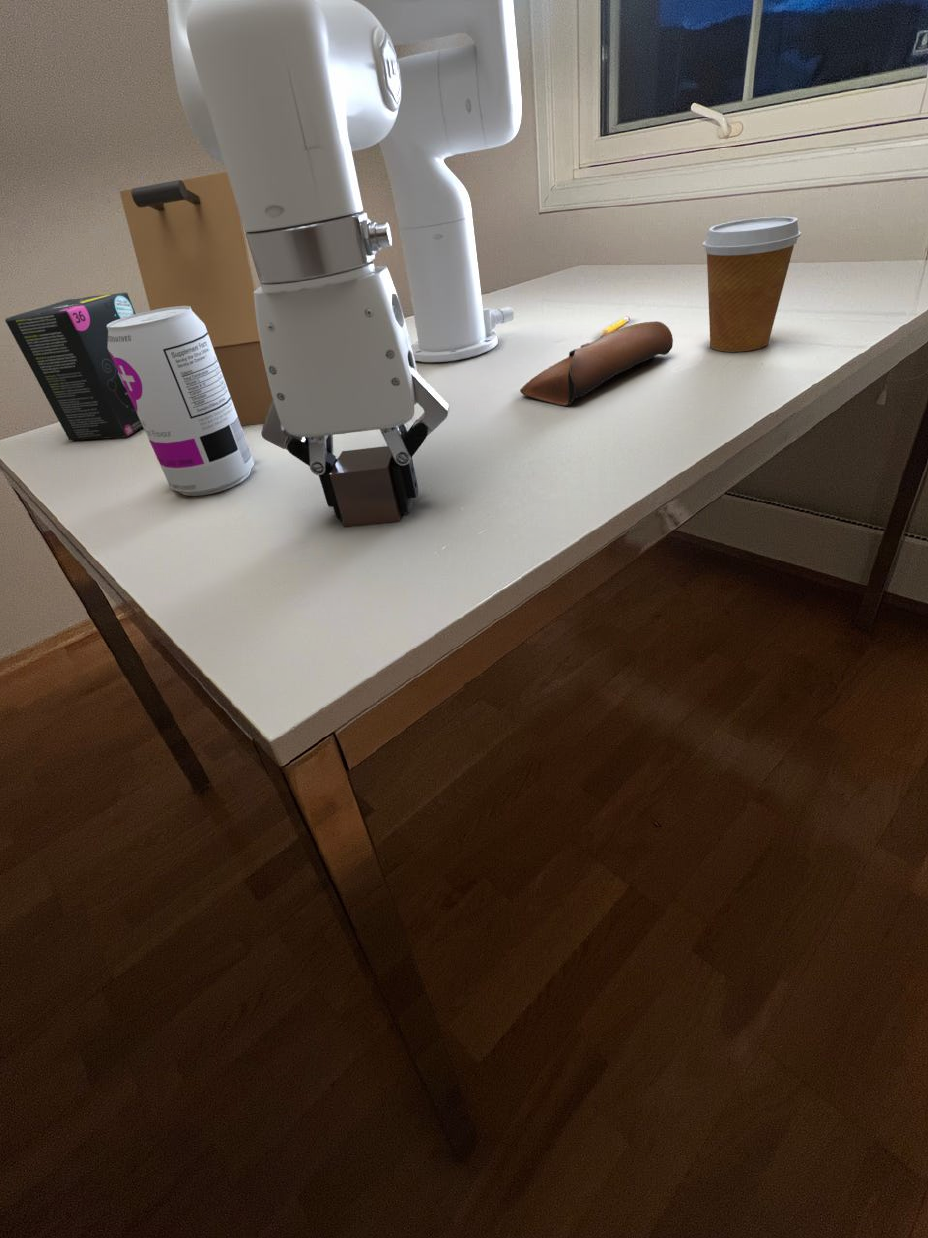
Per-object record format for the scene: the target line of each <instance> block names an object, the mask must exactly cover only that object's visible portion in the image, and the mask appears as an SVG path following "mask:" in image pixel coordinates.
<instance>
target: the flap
mask: <svg viewBox="0 0 928 1238" xmlns="http://www.w3.org/2000/svg"><path fill="white" fill-rule="evenodd" d="M119 196H120V200H121V203H122V207H123V211H124V214H125V218H126V222H127V226H128V230H129V234H130V238H131V242H132V246H133V249H134V253H135V257H136V261H137V265H138V268H139V269H138V270H139V273H140V276H141V280H142V284H143V288H144V292H145V296H146V299H147V303H148V307H149V311H152V310H157V309H162V308H169V307H177V306H190V307H191V310H192V311H193V312H194V313H195V315H196V316H197V317H198V318H199V319H200V320H201V321H202V322H203V323H204V324H205V327H206V329H207V332H208V335H209V338H210V341H211V343H212V346H213V348H217V347H224V346H231V345H238V344H245V343H252V342H259V341H260V339H259V332H258V326H257V319H256V311H255V302H254V291H255V290H257V288H256V284H255V280H254V275H253V269H252V264H251V260H250V255H249V250H248V246H247V241H246V240H247V239H246V234H245V231H244V227H243V224H242V221H241V217H240V214H239V211H238V207H237V204H236V201H235V197H234V194H233V190H232V187H231V184H230V180H229V177H228V174H227V171H223V172H216V173H211V174H206V175H201V176H194V177H189V178H183V179H178V180H172V181H167V182H161V183H155V184H149V185H144V186H139V187H134V188H129V189H123V190H119Z"/></svg>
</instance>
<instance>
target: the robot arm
mask: <svg viewBox="0 0 928 1238" xmlns="http://www.w3.org/2000/svg"><path fill="white" fill-rule="evenodd" d="M166 1H167V14H168V15H167V16H168V30H169V39H170V52H171V59H172V65H173V73H174V79H175V83H176V88H177V92H178V93H177V94H178V96H179V100H180V104H181V108H182V110H183V113H184V116H185V118H186V120H187V123H188V126H189V128H190V129H191V130H190V131H192V133H193V136H194V138H195V139H196V140H197V142H198V143H199V145H200V146H201V148H202V149H203V150H204V151H205V153H206V154H207V155H209V156H210V157H211V158H212V159H213V160H214V161H215V162H217V163H219V164H220V165H223V166H224V167H225V170H226V172H227V174H228V177H229V180H230V184H231V187H232V190H233V194H234V197H235V201H236V204H237V207H238V211H239V214H240V217H241V221H242V226H243V231H244V233H245V238H246V240H247V241H246V242H247V244H248V247H249V251H250V254H251V257H252V261H253V264H254V267H255V270H256V274H257V277H258V282H259V285H260V286H259V287H257V288H256V290H255V291H254V302H255V311H256V319H257V326H258V332H259V339H260V345H261V350H262V355H263V360H264V365H265V369H266V373H267V377H268V382H269V385H270V389H271V393H272V397H273V399H272V402H271V405H270V408H269V411H268V414H267V417H266V420H265V423H263V426H262V429H261V432H260V434H261V437H262V439H264V441H267V442H269V443H271V444H273V445H275V446H276V447H279V448H280V449H283V450H286V451H288V453H289V454H290V455H291V456H293V457H295V458H296V459H297V460H299V461H301V462H302V463H304V464H305V465H306V466H308V467H309V469H310V471H311V473H313V474H314V475H316V476H318V478H319V481H320V484H321V488H322V491H323V495H324V498H325V502H326V504H327V505H328V507H329V508H330V507H332V508H333V511H334V515H335V518H336V520H337V521H343V520H342V516H341V513H340V509H339V506H338V502H337V499H336V495H335V492H334V488H333V485H332V481H331V478H330V473H331V471H332V469H333V467H334V465H335V464H336V462H337V460H338V458H337V457H336V456H337V455H335V454H334V435H343V434H352V433H360V432H368V431H376V430H379V431H380V433H381V435H382V437H383V439H384V442H385V444H386V446H388V447H389V449H390V451H391V454H392V460H393V464H392V466H391V475H392V479H393V484H394V488H395V493H396V497H397V502H398V506H399V511H400V512H402V514H401V515H404V514H410V512H411V508H412V505H413V500H414V499H417V498H418V497H419V485H418V480H417V475H416V469H415V465H414V460H413V457H414V455H415V454H416V453H417V451H418V450H419V448H420V447H421V446H422V444H423V443H424V442H425V441H426V439H427V437H428V436H429V435H430V434H431V433H432V432H434V431H435V430H436V429H437V428H438V427H439V426H440V425H441V424H442V423H443V422H444V421H445V420H446V419H447V418H448V415H449V412H450V406H449V403H447V402H446V400H445V399H444V398H443V397H442V396H441V395H440V394H439V393H438V392H437V391H436V390H435V389H434V388H433V387H432V386H431V385H430V384H429V383H428V382H427V381H426V380H425V379H424V378H423V377H422V376H421V375H420V373H419V372H418V369H417V364H416V362H419V363H445V362H454V361H460V360H464V359H469V358H472V357H476V356H479V355H482V354H485V353H487V352H489V351H491V350H492V349H494V348H495V347H496V346H497V344H498V343H499V342H498V335H497V333H496V332H494V331H493V329H495V328H496V327H497V325H499V324H506V323H509V322H512V321H513V320H514V317H515V314H514V310H513V309H514V308H512V307H511V306H505V307H501V308H499V309H497V310H495V309H494V308H491V309H490V308H488V307H483V299H482V291H481V290H482V289H481V282H480V273H479V264H478V257H477V256H478V255H477V246H476V238H475V229H474V221H473V210H472V209H473V208H472V203H471V199H470V195H469V192H468V190H467V189H466V187H465V186H464V184H463V183H462V182H461V180H460V179H459V178H458V177H457V176H456V174H454V173H453V171H452V170H451V169H450V168H449V167H448V166H447V165H446V163H445V161H444V160H445V159H447V158H449V157H454V156H455V155H460V154H465V153H466V154H467V153H472V152H478V151H483V150H489V149H494V148H498V147H502V146H505V145H506V144H509V143H510V142H511V141H513V140H514V139H515V138H516V136H517V134H518V133H519V130H520V126H521V122H522V112H523V111H522V110H523V109H522V103H523V101H522V91H521V90H522V88H521V74H520V64H519V51H518V42H517V40H518V39H517V29H516V19H515V7H514V0H166ZM457 34H458V35H459V34H465V35H466V34H467V35H468V37H469V38H471V40H472V42H473V43H469V44H464V45H459V46H453V47H449V48H444V49H436V50H432V51H426V52H421V53H415V54H411V55H406V56H403V57H400V58H398V56H397V52H396V49H395V46H401V45H408V44H409V45H410V44H414V43H418V42H419V43H420V42H425V41H429V40H434V39H440V38H443V37H449V36H452V35H453V36H454V35H457ZM377 144H379V148H380V151H381V155H382V158H383V161H384V164H385V169H386V172H387V173H386V174H387V176H388V181H389V185H390V190H391V195H392V199H393V204H394V210H395V216H396V221H397V227H398V233H399V238H400V244H401V250H402V255H403V261H404V268H405V273H406V279H407V284H408V291H409V296H410V301H411V307H412V314H413V319H414V324H415V330H416V335H417V336H416V337H417V341H415V342H414V343H412V342H411V338H410V335H409V331H408V328H407V327H408V326H407V323H406V319H405V315H404V313H403V309H402V306H401V305H402V304H401V302H400V299H399V296H398V293H397V290H396V287H395V284H394V281H393V279H392V275H391V273H390V271H389V269H388V266H386V265H375V262H374V259H376V255H377V252H379V251H382V248H388V247H392V245H393V237H392V232H391V227H390V224H389V222H388V221H386V222H381V223H377V221H371V218H368V214H367V212H364V207H363V202H362V197H361V196H362V195H361V192H360V186H359V182H358V176H357V173H356V166H355V161H354V155H353V152H356V151H361V150H365V149H368V148H371V147H373V146H375V145H377ZM416 404H418V405H419V406H420V407H421V408H422V410H423V413H422V414H421V416H420V417H419V418H417V419H416V420H414V421H413V424H411V426H410V428H408V426H407V423H408V422H409V421H411V420H412V419H413V418H414V415H415V405H416Z"/></svg>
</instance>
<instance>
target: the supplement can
mask: <svg viewBox="0 0 928 1238" xmlns="http://www.w3.org/2000/svg"><path fill="white" fill-rule="evenodd" d="M107 329H108V346H107V348H108V350H109V353H110V355H111V357H112V359H113V361H114V364H115V366H116V368H117V370H118V372H119V375H120V377H121V379H122V381H123V384H124V386H125V388H126V390H127V392H128V395H129V397H130V399H131V401H132V403H133V406H134V408H135V410H136V412H137V415H138V417H139V419H140V421H141V423H142V426H143V427H142V428H143V429H144V432H145V434H146V436H147V439H148V441H149V443H150V445H151V447H152V448H151V449H152V450H153V452H154V455H155V456H156V459H157V461H158V463H159V465H160V467H161V470H162V472H163V474H164V476H165V479H166V481H167V483H168V486H169V488H171V489H172V490H174V491H176V492H179V493H181V494H183V495H184V496H189V497H190V496H191V497H198V496H208V495H212V494H217V493H220V492H222V491H226V490H228V489H231V488H233V487H235V486H237V485H239V484H241V483H242V482H243V481H245V480H247V478H249V476H250V474H251V471H252V469H253V467H254V465H255V461H254V458H253V455H252V453H251V450H250V447H249V445H248V441H247V439H246V437H245V432H244V430H243V428H242V426H241V425H240V422H239V419H238V416H237V413H236V411H235V408H234V405H233V402H232V399H231V397H230V394H229V391H228V388H227V385H226V383H225V380H224V377H223V374H222V371H221V369H220V366H219V363H218V360H217V357H216V355H215V352H214V349H213V346H212V343H211V341H210V338H209V335H208V332H207V329H206V327H205V324H204V323H203V322H202V321H201V320H200V319H199V318H198V317H197V316H196V315H195V313H194V312H193V311H192V310H191V307H190V306H177V307H169V308H162V309H157V310H152V311H150V310H147V311H143V312H139V313H136V314H135V315H131V316H128V317H124V318H121V319H118V320H116V321H113V322H111V323H109V324H107Z"/></svg>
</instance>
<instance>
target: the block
mask: <svg viewBox="0 0 928 1238" xmlns="http://www.w3.org/2000/svg"><path fill="white" fill-rule="evenodd" d="M337 459H338V460H337V462H336V464H335V465H334V467H333V469H332V471H331V473H330V478H331V481H332V485H333V488H334V492H335V495H336V499H337V502H338V506H339V509H340V513H341V516H342V520H341V521H342V523H343V527H346V528H347V527H357V526H366V525H367V526H368V525H376V524H385V523H397V522H400V520H401V517H402V515H403V514H402V512H400V511H399V506H398V502H397V497H396V493H395V488H394V484H393V479H392V475H391V466H392V464H393V460H392V454H391V451H390V449H389V447H388V445H384V446H376V447H375V446H374V447H367V448H358V449H350V450H349V449H348V450H342V451H341V453H340V455H339V456H338V458H337Z"/></svg>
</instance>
